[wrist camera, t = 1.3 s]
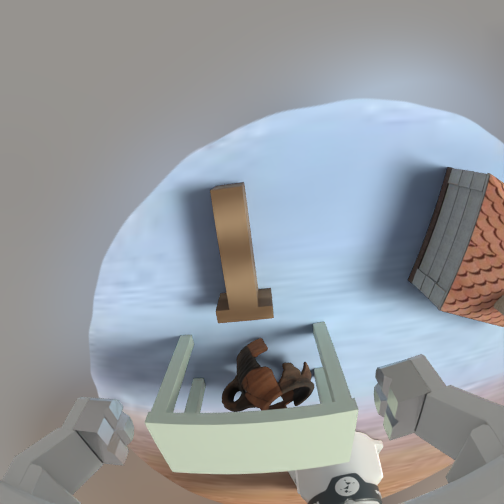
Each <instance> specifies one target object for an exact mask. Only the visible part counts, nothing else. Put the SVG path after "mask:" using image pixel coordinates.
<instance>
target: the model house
mask: <svg viewBox="0 0 504 504" xmlns="http://www.w3.org/2000/svg"><path fill="white" fill-rule="evenodd" d="M408 281H409V282H410V283H412V284H413V285H414V286H416V287H417V288H418V289H419V290H420V291H421V292H422V293H423V294H424V295H425V296H426V297H427V298H428V299H429V300H430V301H431V302H432V303H433V304H434V305H435V306H437V307H438V310H440V311H443V312H447V313H451V314H455V315H459V316H462V317H466V318H470V319H474V320H478V321H482V322H486V323H489V324H493V325H497V326H501V327H504V183H503V182H501V181H500V180H499V179H497V178H496V177H494V176H493V175H491V174H490V173H487V174H484V173H478V172H474V171H467V170H460V169H454V168H451V167H448V168H447V171H446V175H445V178H444V182H443V185H442V188H441V192H440V195H439V198H438V201H437V204H436V207H435V210H434V213H433V216H432V219H431V222H430V225H429V228H428V231H427V233H426V236H425V239H424V241H423V244H422V247H421V249H420V252H419V254H418V257H417V259H416V262H415V264H414V267H413V269H412V271H411V274H410V276H409V278H408Z"/></svg>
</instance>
